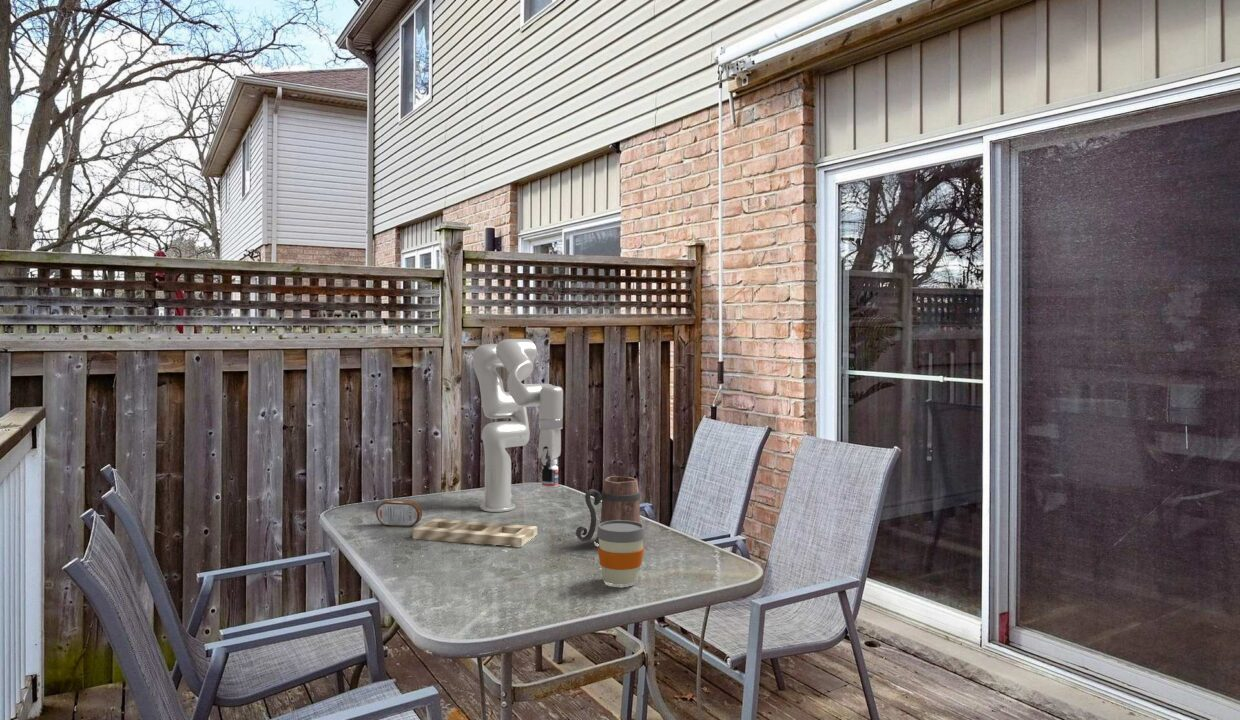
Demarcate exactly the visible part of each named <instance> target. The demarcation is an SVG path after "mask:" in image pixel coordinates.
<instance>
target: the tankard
mask: <svg viewBox="0 0 1240 720" xmlns="http://www.w3.org/2000/svg"><path fill="white" fill-rule="evenodd" d="M592 494H593V499H594V501H593V503H592V501H591V496H592ZM584 498H585V503H586V507H587V508H588V510H589V513H590V525H589V530H588V529H587V528H586V527H585V526H582V525H580V526H579V527H577V528H576V530H575V535H576V537H577V539H579V540H580V541H582V542H588V541H590V540H591V539H592V537H593V536H594V534H595V531H596V527H597V513H596V509H595V508H594V506H593V505H595V506H597V505H599V504H600V503H601V512H600V521H599V524H600V523H602V522H606V521H612V520H628V521H635V522H639V523H641V524H642V522H641V513H640V511H641V507H640V505H641V504H640V499H641V492H640V488H639V482H638V478H635V477H631V476H619V475H618V476H617V475H614V476H613V475H612V476H608V477H606V478H605V479H604V482H603V486H602V490H601V491H598V490H596V489H594V488H590V489H588V490H587V491H586V493H585V495H584ZM582 536H583V537H582ZM594 540H595V539H594ZM644 540H645V538H644V539H643V542H644ZM595 542H596V543H598V544H599V539H598V537H597V536H596V540H595Z"/></svg>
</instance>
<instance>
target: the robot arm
mask: <svg viewBox="0 0 1240 720" xmlns="http://www.w3.org/2000/svg"><path fill="white" fill-rule="evenodd" d="M537 356H538V350H537V346H536V344H535V342H534V341H532V340H531V339H529V338H505V339H502V340H501V341H499V342H498V343H488V344H487V343H486V344H482V345H478V346H477V347H476V348H475V349H474V351H473V355H472V366H473V370H474V373H475V376H476V377H477V380H478V384H479V391H480V398H481V406H482V411H483V414H484V416H485V417H486V418H487V419H493V420H495V419H496V420H497V419H510V420H508V421H507V420H504V421H493V422H489V423H487V424H486V425H484V427H483V429H482V433H481V436H482V443H483V450H484V452H483V453H484V502H483V503H481V504H480V506H479V507H480V508H479V509H480V510H481V511H484V512H490V513H502V512H508V511H513V510H515V508H516V504H515V503H513V502H512V499H513V497H514V496H513V493H512V459H511V456H510V454H509V453H508V451H507V450H506V449H507V448H516V447H524V446H526V445H527V444H528V443H529V441H530V435H531V432H530V423H529V417H528V409H527V408H529V407H539V429H540V432H539V438H538V449H537V451H538V452H537V453H538V454H537V458H538V460H539V461H540V460H541V469H542V472H541V473H542V474H541V476H542V477H541V482H542V481H549V482H551V481H552V469H551V466H552V460H553V459H557V464H556V466H559V457H560V456H561V453H562V435H561V434H562V433H561V430H563V420H564V419H563V418H564V417H563V416H564V413H563V411H564V409H563V408H564V407H563V406H564V390H563V388H562V386H559V385H553V384H550V383H522V381H524V380H526V379H527V378H529V376H530V375H532V372H533V370H534V365H533V362H534V361H535V359H536V358H537ZM494 368H505V369H506V370H507V372H508V375H507V376H508V377H507V381H506V386H507V392H506V391H505V389H504V382H503V379H502V377H501V375H500V374H499V373H498V372H497V370H495V369H494ZM548 458H549V459H548ZM547 461H549V463H548V462H547Z"/></svg>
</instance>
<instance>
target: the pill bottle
mask: <svg viewBox="0 0 1240 720" xmlns="http://www.w3.org/2000/svg"><path fill="white" fill-rule="evenodd" d="M547 459H549V458H547ZM547 462H548V463H549V461H547ZM556 464H557V459H553V460H552V466H551V469H552V481H551V482H549V481H542V480H541V486H542V487H543V488H547V489H552V488H553V489H555V488H557V487H558V486H559V465H556Z"/></svg>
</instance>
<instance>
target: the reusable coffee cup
mask: <svg viewBox="0 0 1240 720" xmlns="http://www.w3.org/2000/svg"><path fill="white" fill-rule="evenodd" d="M596 534H597V535H596V537H598V539H599V546H598V547H597V554H598V560H599V566H601V573H602V581H603V580H604V581H606V582H609V583H613V584H628V583H632V582H635V581H637V580H638V581H639V575H640V574H639V573H640V566H642V563H643V555H644V549H645V547H643V539H644V540H645V538H646V533H645V525H644V524H643V523H642V522H641V523H639V522H635V521H628V520H612V521H606V522H602V523H600V522H599V523H598V526H597V533H596Z"/></svg>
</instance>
